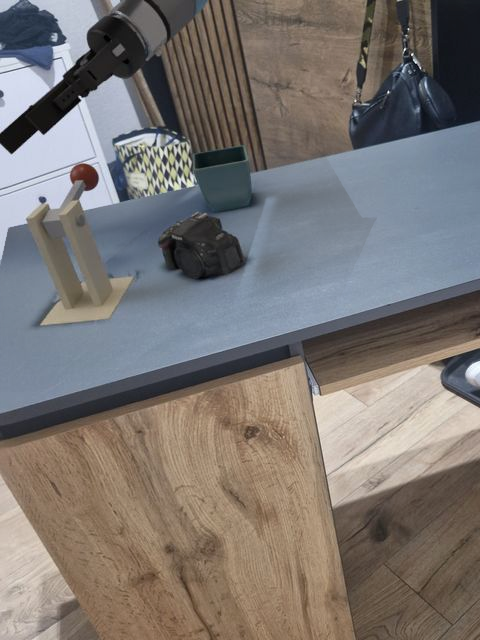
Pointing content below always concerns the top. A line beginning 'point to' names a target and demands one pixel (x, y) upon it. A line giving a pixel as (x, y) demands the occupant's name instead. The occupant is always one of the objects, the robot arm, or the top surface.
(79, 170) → the lever
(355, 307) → the top surface
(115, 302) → the stand
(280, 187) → the top surface
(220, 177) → the flower pot
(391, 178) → the top surface
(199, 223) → the camera
